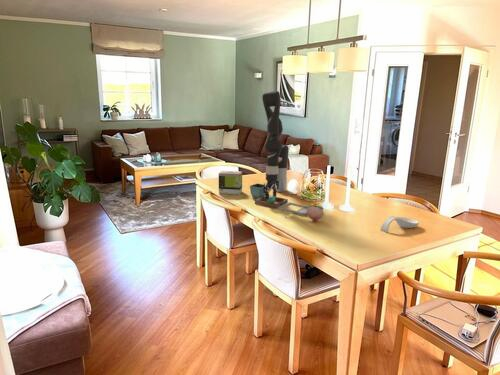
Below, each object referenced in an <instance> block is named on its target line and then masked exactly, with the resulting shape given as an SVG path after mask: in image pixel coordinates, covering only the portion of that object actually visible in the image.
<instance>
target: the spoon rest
mask: <svg viewBox="0 0 500 375" xmlns="http://www.w3.org/2000/svg"><path fill="white" fill-rule="evenodd" d="M393 221H395V222H396V224H397V225H398V226H399V227H400V228H402V227H403V228H402V229H407V228H410V229H413V228H416V227H417V226H418V225H419V223H420V221H418V220H416V219H413V218H410V217H404V216H402V217H401V216H393V215H392V216H389V217H388V218H385V220H384V221H383V223H382V224H381V226H380V231H382V232H384V233H389V228H390V225H391V223H392V222H393Z"/></svg>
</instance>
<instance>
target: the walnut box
mask: <svg viewBox="0 0 500 375" xmlns="http://www.w3.org/2000/svg"><path fill="white" fill-rule="evenodd" d="M269 196H271V195H270V194H269ZM288 201H289V199H287V198H282V197H279V196H276V197H275V202H274V203H269V202H268V200H267V199H265V197H262V198H259V199H257V198H256V199H254V204H255V205H257V206H263V207H266V208H271V209H278V207H279V206H282V205H284V204H286V203H288Z"/></svg>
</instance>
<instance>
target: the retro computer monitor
mask: <svg viewBox="0 0 500 375" xmlns="http://www.w3.org/2000/svg"><path fill="white" fill-rule="evenodd" d="M241 193H243V171H242V170H240V171H235V170H221V171H220V172H218V194H221V195H222V194H223V195H224V194H225V195H236V196H237V195H241Z"/></svg>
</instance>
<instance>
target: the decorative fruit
mask: <svg viewBox="0 0 500 375" xmlns="http://www.w3.org/2000/svg"><path fill="white" fill-rule="evenodd" d="M307 206H308V207H309V208H308V209H307V215H306V216H307V217H308V218H309V219H310V220H312V221H313V222H316V221H318V220H321V219H322V218H323V217H324V207H323V206H322V205H317V203H315V204H309V205H307Z"/></svg>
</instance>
